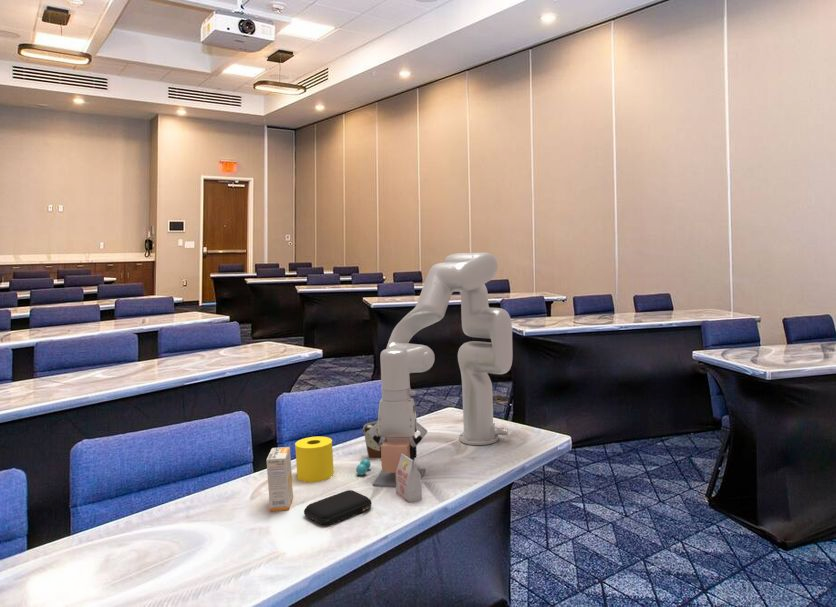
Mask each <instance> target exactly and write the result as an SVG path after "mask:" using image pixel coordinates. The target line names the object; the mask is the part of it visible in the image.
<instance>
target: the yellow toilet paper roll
mask: <svg viewBox="0 0 836 607" xmlns="http://www.w3.org/2000/svg"><path fill="white" fill-rule="evenodd" d="M294 445H295V459H296V460H295V462H296V475H297V478H296V479H297V480H298V479H299V481H300V480H301V481H300V482H303V481H305V482H304V483H318V482H323V481H327V480H329V479H331V478H332V477H334V475H335V474H334V473H335V470H334V455H333V454H334V453H333V452H334V451H333V440H332V438H330V437H327V436H311V437H310V436H309V437H305V438H301V439H299V440H297V441H296V442H295V444H294ZM333 474H334V475H333ZM331 476H332V477H331ZM330 477H331V478H330ZM328 478H329V479H328ZM326 479H327V480H326Z"/></svg>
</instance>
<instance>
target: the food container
mask: <svg viewBox="0 0 836 607" xmlns="http://www.w3.org/2000/svg"><path fill="white" fill-rule="evenodd" d="M377 422H378V420H375V421H371V422H368V423H366V424H364V425H363V427H362V430H361V433H362V434H363V433H364V434H363V435H364V441H365V447H366V452H367V459H368V460H378V459H379V460H381V457H380V446H379V445H378V443H377V442H376V441H375V440H374V439H373V438H372V437H371V436H370V434H369V433H368V431H369V429H370V428H372V427H373V426H374V425H375V424H376V423H377ZM375 432H376V434H378V429H377V430H375ZM378 435H379V434H378ZM380 437H381V436H380Z"/></svg>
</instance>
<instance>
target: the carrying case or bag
mask: <svg viewBox="0 0 836 607" xmlns="http://www.w3.org/2000/svg"><path fill="white" fill-rule="evenodd" d="M371 506H372V500H371V499H370V498H369V497H368V496H366V495H363V494H361V493H359V492H357V491H354V490H352V489H347V490H344V491H342V492H339V493H336V494H333V495H330V496H328V497H325V498H322V499H320V500H317V501H314V502H311V503H309V504H307V506H306V507H305V508H304V510H303V514H304V516H306V517H307V518H308V519H310V520H312V521H314V522H315V523H317V524H320V525H321V526H330V525H332V524H335V523H337V522H340V521H342V520H346V519H348V518H349V517H352V516H355V515H358V514H361V513H364V512H366V511H367V510H368V509H370V507H371Z"/></svg>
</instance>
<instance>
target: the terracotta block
mask: <svg viewBox="0 0 836 607" xmlns="http://www.w3.org/2000/svg"><path fill="white" fill-rule="evenodd" d="M410 447H411V444H410V442H409V440H408V438H389V437H387V438H386V440H385V441H384V442H383V444H382V445H381V459H380V460H381V461H380V462H381V463H380V464H381V470H382V472H387V473H395V470H396V467H397V464H398V461H399V457H400V454H401V453H402V454H404V455H405V456H407V457H408V458H410ZM415 460H416V458H415V459H414V462H415Z"/></svg>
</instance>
